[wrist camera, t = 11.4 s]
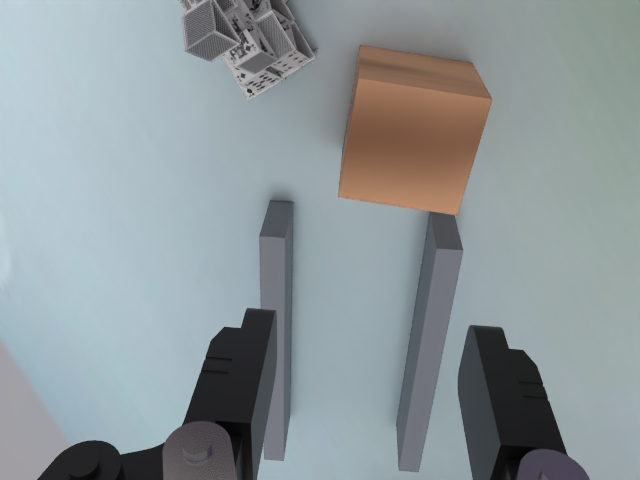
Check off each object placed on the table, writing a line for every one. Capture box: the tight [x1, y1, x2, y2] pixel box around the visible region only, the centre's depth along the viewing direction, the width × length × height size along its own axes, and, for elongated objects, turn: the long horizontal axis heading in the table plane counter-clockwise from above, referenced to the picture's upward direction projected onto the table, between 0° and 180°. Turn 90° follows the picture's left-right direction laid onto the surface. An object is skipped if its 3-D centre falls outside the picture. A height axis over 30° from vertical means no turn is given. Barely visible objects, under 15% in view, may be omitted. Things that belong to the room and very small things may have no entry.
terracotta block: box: [338, 45, 492, 215], centre depth 25 cm, size 5×5×5 cm
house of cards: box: [179, 0, 318, 100], centre depth 22 cm, size 9×9×8 cm
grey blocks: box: [259, 201, 463, 472], centre depth 33 cm, size 16×9×4 cm, turn 178°
